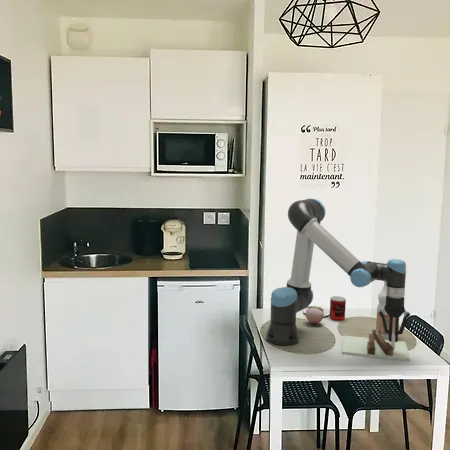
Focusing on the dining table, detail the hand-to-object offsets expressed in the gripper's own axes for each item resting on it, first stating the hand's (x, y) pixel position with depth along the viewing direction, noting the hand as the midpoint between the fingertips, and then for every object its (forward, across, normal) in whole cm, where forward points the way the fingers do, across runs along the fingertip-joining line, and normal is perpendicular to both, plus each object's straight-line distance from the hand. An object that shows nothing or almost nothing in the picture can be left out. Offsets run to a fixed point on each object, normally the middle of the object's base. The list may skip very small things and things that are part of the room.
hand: (392, 348), depth 224 cm
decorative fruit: (+2, -35, +29) cm, 46 cm away
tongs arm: (+1, -3, +4) cm, 5 cm away
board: (+2, -7, +4) cm, 9 cm away
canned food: (+2, -24, +41) cm, 48 cm away
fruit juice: (+2, -1, +21) cm, 22 cm away
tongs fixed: (+1, -9, +4) cm, 10 cm away
